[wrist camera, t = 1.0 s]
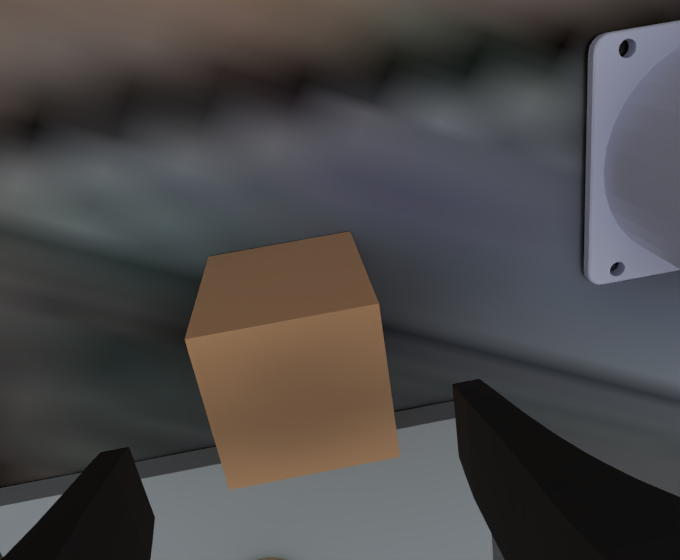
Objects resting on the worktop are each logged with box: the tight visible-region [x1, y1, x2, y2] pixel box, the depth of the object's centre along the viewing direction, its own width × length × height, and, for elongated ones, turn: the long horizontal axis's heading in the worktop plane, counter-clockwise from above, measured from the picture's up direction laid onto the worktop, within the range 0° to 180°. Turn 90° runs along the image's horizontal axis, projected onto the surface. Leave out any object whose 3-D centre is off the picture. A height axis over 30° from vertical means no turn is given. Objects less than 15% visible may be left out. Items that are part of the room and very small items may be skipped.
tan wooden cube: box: [185, 231, 400, 490], centre depth 17 cm, size 5×5×6 cm
